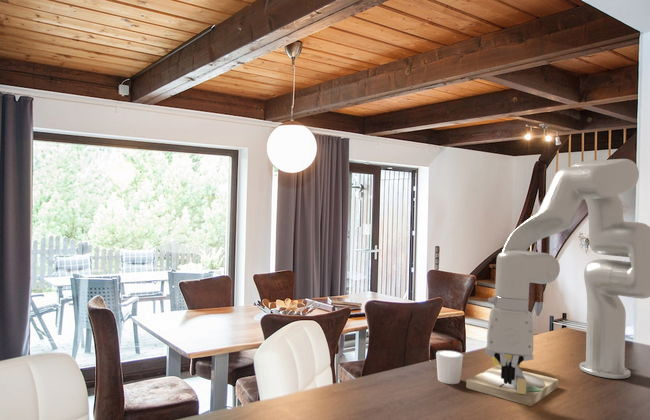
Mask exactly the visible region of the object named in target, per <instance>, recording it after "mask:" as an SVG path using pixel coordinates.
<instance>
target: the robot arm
mask: <svg viewBox="0 0 650 420" xmlns="http://www.w3.org/2000/svg"><path fill="white" fill-rule="evenodd" d="M639 176H640V171H639V168H638V166H637V164H636V163H635V162H634V161H633V160H631V159H628V158H617V159H615V158H614V159H597V160H585V161H584V160H583V161H579V162H575V163H574V164H572V165H570V166H566V167H563V168H561V169H559V170H558V171H556V172H555V174H554V176H553V178H552V180H551V182H550V184H549V186H548V189H547V190H546V193H545V196H544V198H543V199H542V202H541V204H540V206H539V209H538V210H537V212H536V213H535V214H533V215H532V216H531V217H529V218H528V219H526V220H525V221H524V222H522V223H520V225H519V226H518V227H517V228H515V229H514V230H513V231H512V232H511V233H510V235H509V236H508V238H507V240H506V242H505V244H504V246H503V249H502V251H501V252H499V253H498V254H497V256H496V264H495V265H496V266H495V283H494V284H495V286H494V296H492V297H488V299H487V301H488V302H487V303H488V304H491V305H493V307H491V309H490V312H489V315H488V323H487V330H486V331H487V332H486V347H485V350H484V353H485V354H486V355H487V356H489V357H492V358H493V357H495V358H496V359H497V360H498V361H499V363H500V364H501V379H504V384H507V383H508V384H512V380H515V367H517V365H518V364H520V365H521V363H522V362H524V361H525V362H527V361H533V360H534V354H533V353H534V321H533V314H532V312H531V311H529V301H530V300H529V298H530V297H529V296H530V295H529V294H530V284H531V283H534V284H539V285H547V284H550V283H553V282H554V281H555V280H557V278H558V277H559V274H560V272H561V271H560V270H561V267H560V262H559V261H558V259H557V258H556V257H554V255H551V254H550V253H547V252H540V251H534V250H533V251H531V250H528V249H529V248H530V247H531V246H532V245H533V244H535V243H536V242H538V241H540V240H542V239H546V238H547V237H550V236H553V235H556V234H559V233H562V232H564V231H567V230H568V229H569V228H571V226H573V222H574V220H575V218H576V216H577V213H578V211H579V208H580V206H581V204H582V202H583V200H585V202H586V207H587V212H588V238H589V239H588V240H589V247H590V249H591V250H592V252H594V253H595V254H598V255H604V256H611V257H613V256H614V257H623V258H629V261H623V260H617V259H606V258H605V259H604V258H599V259H594V260H591V261H589V262H588V263H587V265H586V266H584V267H585V268H584V270H583V278H584V283H585V285H584V286H585V290H586V302H587V303H586V307H587V308H586V336H585V337H586V341H585V361H582V362H580V363H579V369H580V370H581V371H582V372H585V373H586V374H589V375H592V376H595V377H600V378H605V379H614V380H615V379H616V380H619V379H628V378H630V377H631V376H632V375H631V374H632V373H631V370H630V369H628V368H627V367H625V357H626V356H625V355H626V353H625V352H626V351H625V350H626V318H627V317H626V316H627V313H626V312H627V311H626V308H625V305H624V304H623V301H622V300H621V298H620V296H621V297H627V298H634V299H644V300H645V299H649V298H650V225H648V224H646V223H644V222H638V221H625V220H624V210H623V209H624V208H623V207H624V206H623V202H622V199H621V198H620V196H619V195H622V194H624V193H627V192H630V191H631V190H633V189H634V188H635V186H636V185H637V183H638V182H639V181H638V180H639V178H640V177H639ZM505 354H509V355H512V358H511V362H509V365H507V361H506V357H505Z"/></svg>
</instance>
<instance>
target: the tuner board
mask: <svg viewBox="0 0 650 420" xmlns="http://www.w3.org/2000/svg"><path fill="white" fill-rule="evenodd" d="M522 374H523V376H524V377H525V379H526V394H519V393H517V391H516V389H515V387H514V385H513V383H512V384H508V383H507V384H504V379H501V366H500V365H496V366H492V367H490V368H488V369H486V370H484V371H482V372H480V373H477V374H475V375H474V376H471V377H470V378H467V379H466V389H469V390H472V391H476V392H478V393H482V394H486V395H489V396H492V397H496V398H501V399H503V400H508V401H512V402H515V403H518V404H521V405H525V406H529V407H532V406H534V405H535V404H536V403H538V402H539V401H541V400H542V399H543V398H545V397H546V396H548V395H549V394H550V393H551V392H553V391H554V390H556V389H558V388H559V379H558V378H555V377H554V378H553V377H549V376H546V375H542V374H537V373H533V372H529V371H524V370H522Z"/></svg>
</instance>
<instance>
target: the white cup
mask: <svg viewBox="0 0 650 420" xmlns="http://www.w3.org/2000/svg"><path fill="white" fill-rule="evenodd" d="M435 358H436V371H437V372H436V373H437V380H438V381H439V382H441V383H443V384H448V385H455V384H459V383H460V382H461V375H462V366H463V360H464V359H463V358H464V354H463V353H461V352H459V351H456V350H446V349H445V350H444V349H443V350H437V351H436V353H435Z"/></svg>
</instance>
